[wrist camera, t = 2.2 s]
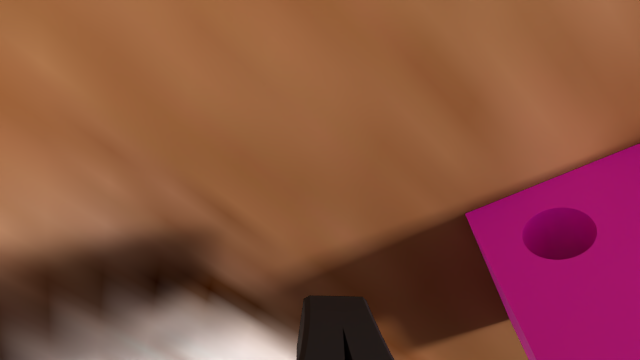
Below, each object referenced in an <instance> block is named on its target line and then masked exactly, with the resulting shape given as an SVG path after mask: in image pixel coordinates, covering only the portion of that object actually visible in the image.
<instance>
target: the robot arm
mask: <svg viewBox="0 0 640 360" xmlns="http://www.w3.org/2000/svg"><path fill="white" fill-rule="evenodd" d="M297 360H394V358H393V357H392V355H391V353H390V351H389V349H388V347H387V345H386V343H385V341H384V339H383V337H382V335H381V333H380V331H379V328H378V326H377V324H376V322H375V320H374V318H373V315H372V313H371V311H370V308H369V306H368V304H367V301H366V300H365V299H364V298H363V297H349V296H308V297H306V298H304V301H303V308H302V315H301V322H300V329H299V336H298V343H297Z"/></svg>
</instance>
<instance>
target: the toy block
mask: <svg viewBox="0 0 640 360" xmlns="http://www.w3.org/2000/svg"><path fill="white" fill-rule="evenodd" d="M465 215H466V217H467V220H468V222H469V225H470V227H471V229H472V232H473V234H474V236H475V239H476V241H477V243H478V246H479V248H480V251H481V253H482V255H483V258H484V260H485V262H486V265H487V267H488V269H489V272H490V274H491V276H492V279H493V281H494V284H495V286H496V288H497V291H498V293H499V295H500V298H501V300H502V302H503V305H504V307H505V309H506V312H507V314H508V317H509V319H510V321H511V323H512V325H513V327H514V329H515V332H516V334H517V336H518V338H519V340H520V342H521V344H522V346H523V348H524V350H525V353H526V355H527V357H528V359H529V360H640V143H639V144H637V145H634V146H632V147H629V148H627V149H624V150H622V151H619V152H617V153H615V154H612V155H610V156H607V157H605V158H602V159H600V160H597V161H595V162H592V163H590V164H587V165H585V166H582V167H580V168H577V169H575V170H572V171H570V172H567V173H565V174H562V175H560V176H557V177H555V178H553V179H550V180H548V181H545V182H543V183H540V184H538V185H535V186H533V187H530V188H528V189H525V190H523V191H520V192H518V193H515V194H513V195H510V196H508V197H505V198H503V199H500V200H498V201H495V202H493V203H490V204H488V205H486V206H483V207H481V208H478V209H476V210H473V211H471V212H468V213H466V214H465Z"/></svg>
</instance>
